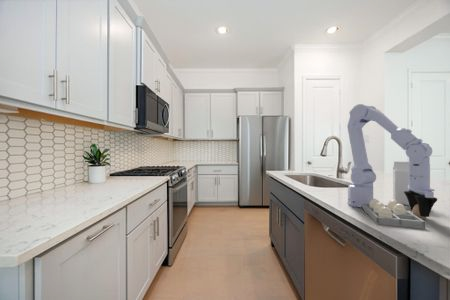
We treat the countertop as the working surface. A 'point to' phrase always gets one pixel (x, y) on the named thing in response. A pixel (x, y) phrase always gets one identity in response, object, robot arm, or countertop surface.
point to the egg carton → (395, 218)
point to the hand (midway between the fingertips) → (419, 213)
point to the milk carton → (400, 182)
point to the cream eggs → (387, 208)
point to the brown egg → (417, 212)
